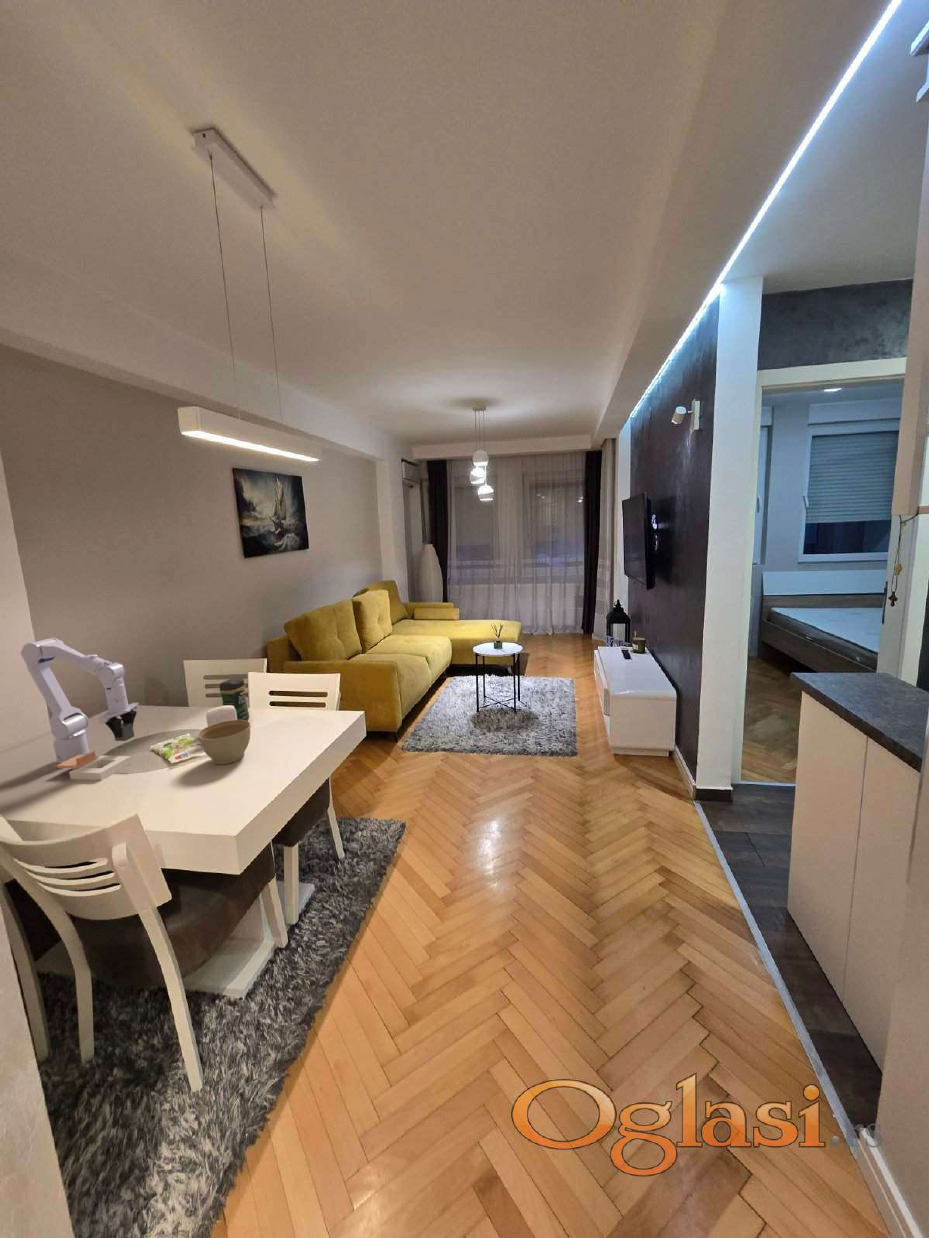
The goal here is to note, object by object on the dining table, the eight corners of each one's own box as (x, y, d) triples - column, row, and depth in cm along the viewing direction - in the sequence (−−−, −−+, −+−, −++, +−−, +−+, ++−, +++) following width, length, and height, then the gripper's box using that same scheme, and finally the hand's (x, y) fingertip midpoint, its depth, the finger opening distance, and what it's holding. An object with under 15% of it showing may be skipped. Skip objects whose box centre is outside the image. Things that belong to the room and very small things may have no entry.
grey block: (115, 740, 175) (112, 727, 175) (124, 736, 179) (122, 722, 178) (125, 740, 175) (122, 727, 174) (134, 736, 179) (131, 723, 178)
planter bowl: (195, 761, 171) (190, 731, 169) (242, 744, 182) (238, 716, 180) (213, 774, 160) (208, 742, 158) (262, 756, 171) (258, 726, 169)
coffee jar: (239, 726, 200) (232, 682, 197) (221, 726, 201) (214, 682, 198) (253, 717, 210) (246, 675, 206) (236, 717, 211) (229, 675, 208)
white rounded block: (238, 732, 195) (233, 701, 192) (240, 735, 191) (235, 704, 189) (209, 739, 189) (204, 708, 187) (210, 743, 186) (205, 711, 183)
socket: (70, 779, 163) (69, 771, 163) (103, 762, 175) (101, 755, 175) (101, 780, 161) (100, 772, 161) (132, 762, 173) (131, 756, 172)
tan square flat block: (57, 767, 166) (55, 759, 166) (79, 756, 174) (77, 749, 173) (77, 768, 165) (75, 760, 164) (98, 757, 172) (97, 749, 172)
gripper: (108, 705, 167) (116, 743, 169) (143, 691, 181) (149, 726, 183) (90, 705, 168) (98, 743, 170) (126, 691, 182) (133, 726, 184)
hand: (124, 734), depth 177 cm, fingers closed on grey block, 4 cm apart
